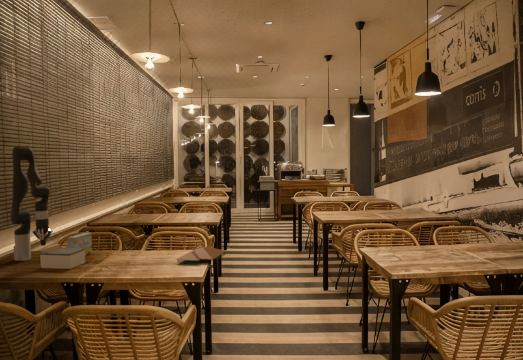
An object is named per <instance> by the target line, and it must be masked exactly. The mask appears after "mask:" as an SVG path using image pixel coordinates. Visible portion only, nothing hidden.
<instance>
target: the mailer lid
mask: <svg viewBox="0 0 523 360" xmlns="http://www.w3.org/2000/svg"><path fill="white" fill-rule="evenodd" d="M83 250H85V249H84V248H67V247H61V244H60V243H56V244H53V245H49V246H46V247H45V248H44V251H43V252H40V254H39V255H72V254H75V253H77V252H80V251H83Z"/></svg>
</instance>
